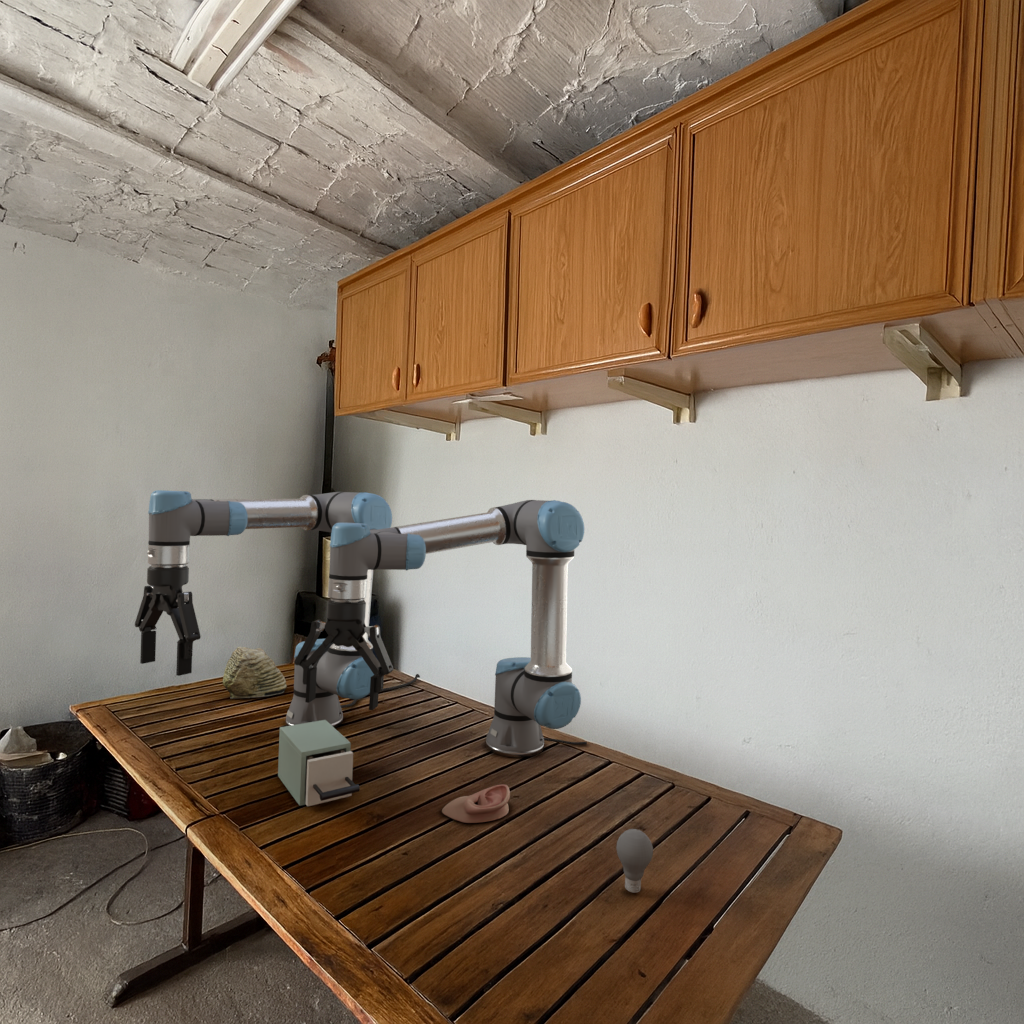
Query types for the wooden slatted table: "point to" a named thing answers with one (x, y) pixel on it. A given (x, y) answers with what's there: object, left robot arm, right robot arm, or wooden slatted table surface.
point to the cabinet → (305, 752)
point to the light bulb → (634, 857)
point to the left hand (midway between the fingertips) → (165, 668)
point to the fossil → (252, 674)
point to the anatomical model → (480, 805)
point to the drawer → (329, 777)
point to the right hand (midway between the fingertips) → (341, 704)
